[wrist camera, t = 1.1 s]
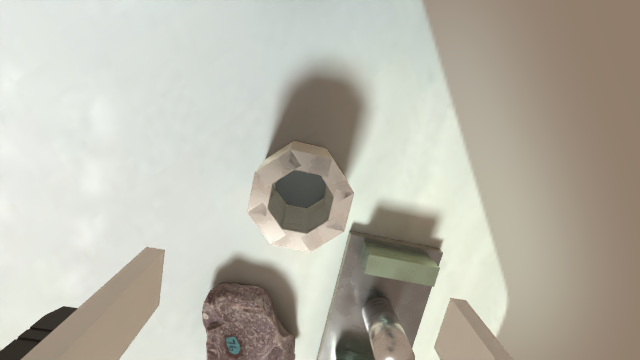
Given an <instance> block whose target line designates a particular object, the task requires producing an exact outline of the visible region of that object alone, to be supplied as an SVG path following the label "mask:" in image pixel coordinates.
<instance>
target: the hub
mask: <svg viewBox="0 0 640 360" xmlns="http://www.w3.org/2000/svg"><path fill="white" fill-rule="evenodd" d="M293 170H298V171H302V172H307V173H312V174H317V175H320V176H321V177H322V179H323V180H324V182H325V183H326V189H325V194H324V198H322V199H321V200H319V201H317V202H316V203H314V204H313V205H311V206H309V207H308V208H303V207H298V206H293V205H288V204H286V203H285V201H284V200H283V198H282V197H281V195H280V194H279V192H278V191H277V189H276V188H275V187H276V182H277V181H278V180H279V179H281V178H282V177H284V176H285V175H287V174H289V173H290V172H292V171H293ZM353 195H354V192H353V190H352V189H351V187H350V185H349V183H348V182H347V180H346V178H345V177H344V175H343V173H342V172H341V170H340V169H339V167H338V166H337V164H336V162H335V161H334V159H333V158H332V156H331V154H330V153H329V151H328V150H327V148H324V147H320V146H315V145H310V144H306V143H301V142H297V141H293V142H291V143H289V144H288V145H286V146H285V147H283V148H282V149H280V150H279V151H277V152H276V153H274V154H272V155H271V156H269V157H268V158H266V159H265V160H264V161H263V163H262V164H261V165H260V166H259V168H258V169H257V170H256V171H255V173H254V179H253V184H252V190H251V195H250V200H249V206H248V211H247V212H248V214H249V215H250V217H251V218H252V219H253V221H254V222H255V224H256V225H257V226H258V228H259V229H260V230H261V232H262V233H263V235H264V236H265V237H266V239H267V240H268V241H269V243H270V244H271V245H276V246H281V247H286V248H291V249H297V250H302V251H307V252H311V251H313V250H315V249H316V248H318V247H320V246H321V245H323V244H324V243H326V242H328V241H329V240H331V239H333V238H334V237H336V236H338V235H339V234H341V233H342V232H344V231H345V227H346V223H347V219H348V215H349V211H350V207H351V203H352V199H353Z"/></svg>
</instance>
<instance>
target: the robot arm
mask: <svg viewBox="0 0 640 360" xmlns="http://www.w3.org/2000/svg"><path fill="white" fill-rule="evenodd" d="M164 253H165V250H162V249H156V248H150V247H146V248H145V249H144V250H143V251H142V252H141V253H139V254H138V255H137V256H136V257H135V258H134V259H133V260H132V261H131V262H129V263H128V264H127V265H126V266H125V267H124V268H123V269H122V270H120V271H119V272H118V273H117V274H116V275H115V276H114V277H113V278H111V279H110V280H109V281H108V282H107V283H106V284H105V285H104V286H103V287H101V288H100V289H99V290H98V291H97V292H96V293H95V294H94V295H92V296H91V297H90V298H89V299H88V300H87V301H86V302H85V303H83V304H82V305H81V306H80V307H79V308H72V307H65V306H63V307H61V308H59V309H57V310H55V311H53V312H51V313H49V314H47V315H45V316H43V317H42V318H41V319H40V320H39V321H37V322H36V323H35V324H34V325H32V326H31V327H30V329H29V330H28V329H27V330H26V331H25V332H24V333H22V334H21V335H20V336H19V337H18V339H17V340H14V341H13V342H11V343H10V344H9V345H8V346H6V347H5V348H4V349H3V350H1V351H0V360H119V359H120V357H121V356H122V355H123V353H124V352H125V351H126V349H127V348H128V346H129V345H130V344H131V342H132V341H133V340H134V338H135V337H136V336H137V334H138V333H139V332H140V330H141V329H142V328H143V326H144V325H145V323H146V322H147V321H148V319H149V318H150V317H151V315H152V314H153V313H154V311H155V310H156V309H157V307H158V306H159V301H160V291H161V282H162V272H163V262H164ZM434 348H435V350H436V352H437V354H438V356H439V358H440V360H513V359H512V358H511V357H510V355H509V354H508V353H507V351H506V350H505V349H504V347H503V346H502V345H501V344H500V343H499V341H498V340H497V339H496V337H495V336H494V335H493V334H492V332H491V331H490V330H489V329H488V327H487V326H486V325H485V324H484V322H483V321H482V320H481V319H480V317H479V316H478V315H477V314H476V312H475V311H474V310H473V309H472V307H471V306H470V305H469V304H468V302H467V301H466V300H460V299H454V298H450V301H449V304H448V307H447V310H446V313H445V316H444V319H443V322H442V325H441V328H440V331H439V334H438V337H437V340H436V343H435V346H434Z"/></svg>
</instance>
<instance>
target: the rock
mask: <svg viewBox="0 0 640 360" xmlns="http://www.w3.org/2000/svg"><path fill="white" fill-rule="evenodd" d="M202 317H203V324H204V326H205V328H206V333H207V342H206V349H207V360H294V359H295V354H294V351H295V337H294V336H293V335H292V334H291V333H289V332H288V331H287V330H285V329H284V327H283V326H282V324H281V323H280V321H279V320H278V318H277V316H276V314H275V313H274V310H273V304H272V300H271V299H270V297H269V295H268V293H267V291H266V290H265V289H263V288H261V287H258V286H252V285H240V284H237V283H232V284H228V283H222V284H220V285H219V286H218V287H216V288H215V289H213V290H210V292H209V294H208V296H207V297H206V300H205V302H204V304H203V310H202Z"/></svg>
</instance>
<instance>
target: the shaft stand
mask: <svg viewBox="0 0 640 360" xmlns="http://www.w3.org/2000/svg"><path fill="white" fill-rule="evenodd" d="M442 254H443V252H442V251H441V250H440V249H438V248H433V247H428V246H423V245H418V244H413V243H408V242H403V241H398V240H393V239H388V238H383V237H378V236H373V235H368V234H363V233H357V232H352V231H350V232H349V235H348V239H347V243H346V247H345V251H344V255H343V259H342V263H341V267H340V270H339V274H338V278H337V282H336V286H335V290H334V294H333V298H332V302H331V306H330V309H329V313H328V317H327V321H326V325H325V329H324V333H323V337H322V341H321V344H320V348H319V352H318V356H317V360H415V356H414V353H413V350H412V347H413V344H414V340H415V337H416V334H417V331H418V328H419V325H420V322H421V319H422V316H423V313H424V310H425V307H426V303H427V300H428V297H429V294H430V291H431V288H432V286H433V287H434V284H435V281H436V278H437V275H438V272H439V269H440V268H439V267H438V266H439V263H440V260H441V257H442Z"/></svg>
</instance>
